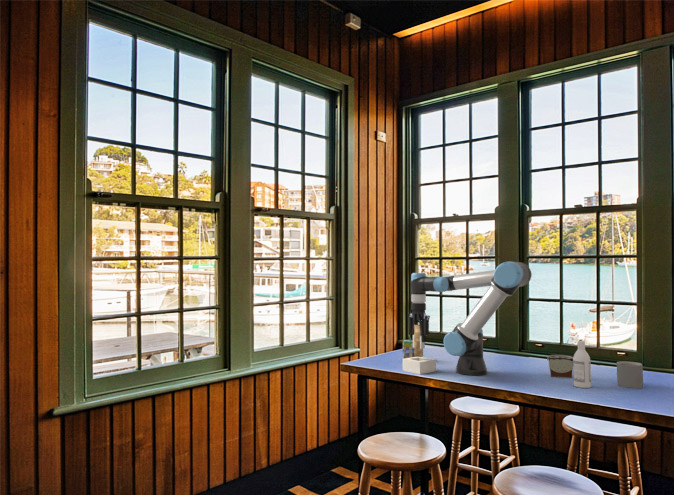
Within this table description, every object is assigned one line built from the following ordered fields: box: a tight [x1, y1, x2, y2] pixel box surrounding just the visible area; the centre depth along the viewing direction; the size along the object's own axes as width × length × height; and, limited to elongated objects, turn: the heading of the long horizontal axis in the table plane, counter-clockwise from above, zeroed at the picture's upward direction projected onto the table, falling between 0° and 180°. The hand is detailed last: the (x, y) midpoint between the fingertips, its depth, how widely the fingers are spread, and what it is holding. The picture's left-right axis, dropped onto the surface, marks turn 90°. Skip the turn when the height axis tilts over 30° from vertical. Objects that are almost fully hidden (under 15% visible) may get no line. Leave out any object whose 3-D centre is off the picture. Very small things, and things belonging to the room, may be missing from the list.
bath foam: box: [572, 340, 592, 389], centre depth 215 cm, size 7×7×20 cm
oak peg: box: [414, 324, 424, 357], centre depth 250 cm, size 4×4×16 cm
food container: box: [547, 354, 574, 379], centre depth 236 cm, size 12×6×10 cm, turn 74°
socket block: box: [402, 356, 437, 375], centre depth 249 cm, size 12×12×6 cm
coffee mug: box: [616, 360, 644, 390], centre depth 217 cm, size 13×10×10 cm
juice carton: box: [402, 334, 415, 360], centre depth 279 cm, size 9×9×15 cm
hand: (418, 347), depth 250 cm, fingers closed on oak peg, 4 cm apart
